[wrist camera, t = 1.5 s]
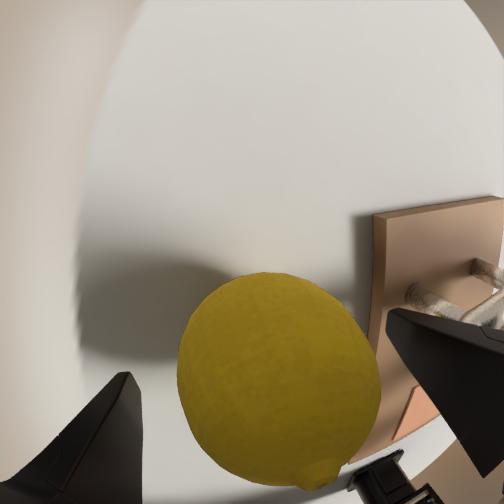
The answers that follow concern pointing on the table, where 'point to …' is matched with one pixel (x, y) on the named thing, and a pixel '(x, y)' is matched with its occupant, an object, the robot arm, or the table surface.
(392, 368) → the walnut board
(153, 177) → the table surface
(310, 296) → the lemon
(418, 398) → the terracotta tile
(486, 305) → the bent wire
